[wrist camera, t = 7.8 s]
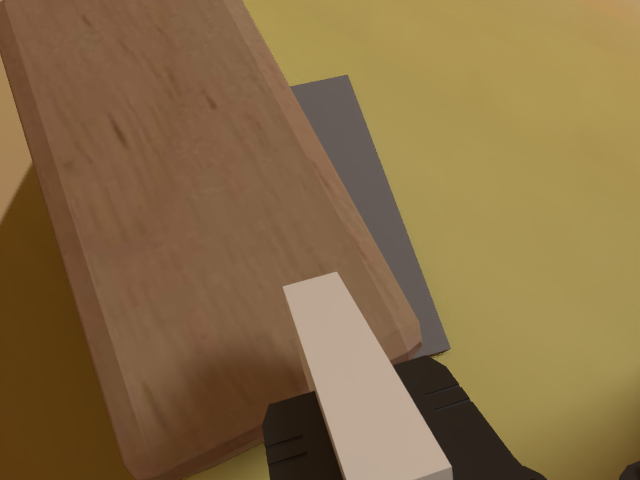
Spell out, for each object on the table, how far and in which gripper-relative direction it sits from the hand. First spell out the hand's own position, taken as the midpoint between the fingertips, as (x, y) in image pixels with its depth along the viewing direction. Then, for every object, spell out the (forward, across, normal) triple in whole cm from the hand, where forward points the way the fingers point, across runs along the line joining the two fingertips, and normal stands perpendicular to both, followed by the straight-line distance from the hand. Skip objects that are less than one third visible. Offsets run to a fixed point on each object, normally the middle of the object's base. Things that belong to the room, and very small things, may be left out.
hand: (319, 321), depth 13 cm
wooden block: (+3, +1, +6) cm, 7 cm away
